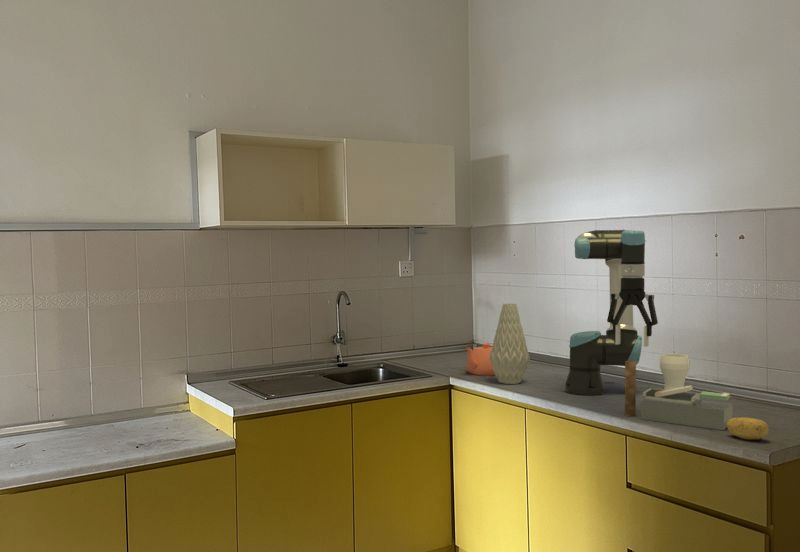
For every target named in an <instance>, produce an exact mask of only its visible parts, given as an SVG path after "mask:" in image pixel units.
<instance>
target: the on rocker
mask: <svg viewBox="0 0 800 552" xmlns="http://www.w3.org/2000/svg"><path fill="white" fill-rule="evenodd" d="M699 393H700V394H699V398H701V399H707V400H715V401H717V400H718V401H724V402H726V401H728V400H729V399H730V398H731V394H730V393H727V392H723V393H721V392H711V391H704V390H703V391H702V392H699Z"/></svg>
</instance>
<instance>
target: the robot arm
mask: <svg viewBox="0 0 800 552" xmlns="http://www.w3.org/2000/svg"><path fill="white" fill-rule="evenodd" d="M645 251H646V235H645V231H644V230H631V229H630V230H629V229H601V230H600V229H598V230H597V229H595V230H588V231H586V232H584V233H582V234H579V235H578V236H577V237H576V238H575V239H574V258H576V259H578V260H579V259H581V260H604V263H605V266H607V267H608V268H609V270H608V271H609V274H608V275H609V310H608V315H607V319H606V321H607V323H609V327H608V328H607V329H606V330H605V334H602V333H601V331H600V330H589V331H580V332H575V333H573V334H571V335H570V337H569V345H568V347H569V371H568V374H567V377H566V381H565V383H564V391H565V392H566V393H568V394H574V395H581V396H599V395H602V394H605V392H606V386H605V383H604V380H603V376H602V374H601V366H615V367H616V366H617V367H619V366H621V367H625V361H636V366H637V365H638V364H639V361H640V358H641V353H642V345H643V347H645V348H646V347H649V342H650V341H649V339H650V338H649V337H652V333H653V331H652V329H653V326H656V325H658V324H659V322H658V316H657V312H656V307H655V303H654V302H655V295H654V294H647V293H646V291H645V278H644V277H645V268H646V267H645V255H646V254H645ZM644 299H646V301H647V307H648V312H649V314H648V312H647V310H646V308H645V305H644V302H643V300H644ZM634 306H636V307H637V308H638V310H639V312H640V315H641V317H642V319H643V321H644V324H645V325H646V326H643V337H642V335H640V334H639V333H638V330H637V329H636V328H635V327H634ZM649 315H650V316H649Z"/></svg>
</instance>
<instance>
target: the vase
mask: <svg viewBox="0 0 800 552" xmlns="http://www.w3.org/2000/svg"><path fill="white" fill-rule="evenodd" d="M491 347H492V349H491V352H490V358H489V360H490V361H491V363H492V368H493V370H494V373H495V375H494V376H495V377H496V378H497V381H498V383H500V384H502V385H503V384H504V385H517V384H521V382H522V379H523V378H524V375H525V373H526V371H527V368H528V363H530V360H531V359H530V354H529V350H528V347H527V340H526V338H525V333H524V330H523V326H522V323H521V318H520V314H519V309H518V306H517V303H502V306H501V311H500V315H499V319H498V323H497V327H496V330H495V335H494V338H493V342H492V346H491Z"/></svg>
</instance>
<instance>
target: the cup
mask: <svg viewBox="0 0 800 552" xmlns="http://www.w3.org/2000/svg"><path fill="white" fill-rule="evenodd" d="M690 364H691V363H690V359H689V355H687V354H682V353H681V354H680V353H662V354H661V355H660V359H659V369H660V371H661V375H662V376H663V379H664V387H663V389H665V390H670V389H675V388H680V387H685V382H686V381H685V380H686V377H687V376H688V375H689V371H690V369H691V368H690V367H691V366H690Z"/></svg>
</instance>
